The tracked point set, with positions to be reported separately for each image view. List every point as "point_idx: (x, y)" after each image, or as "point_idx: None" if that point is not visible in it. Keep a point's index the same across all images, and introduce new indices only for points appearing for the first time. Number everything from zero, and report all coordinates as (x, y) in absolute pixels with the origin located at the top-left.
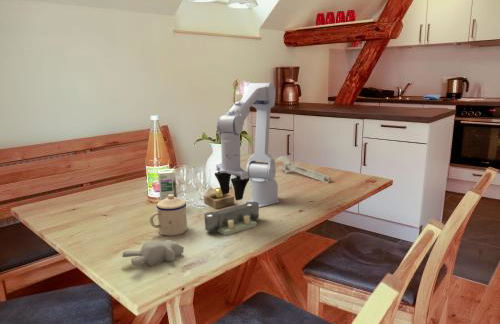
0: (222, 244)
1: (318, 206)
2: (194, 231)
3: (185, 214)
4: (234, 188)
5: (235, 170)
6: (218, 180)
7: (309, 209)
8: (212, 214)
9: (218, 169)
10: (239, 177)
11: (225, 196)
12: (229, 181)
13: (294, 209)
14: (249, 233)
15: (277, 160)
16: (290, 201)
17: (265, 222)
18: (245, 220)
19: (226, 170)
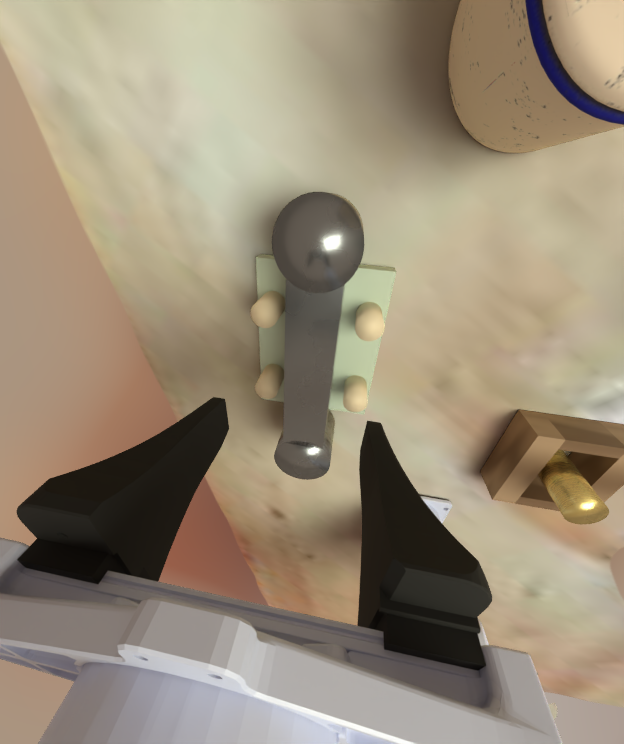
0: (187, 179)
1: (272, 542)
2: (409, 160)
3: (500, 82)
4: (162, 447)
5: (81, 668)
6: (413, 505)
7: (270, 525)
8: (313, 250)
9: (488, 671)
10: (38, 560)
11: (543, 493)
12: (363, 533)
13: (295, 514)
14: (225, 334)
15: (553, 704)
16: (346, 543)
17: (271, 423)
18: (264, 372)
19: (114, 663)
